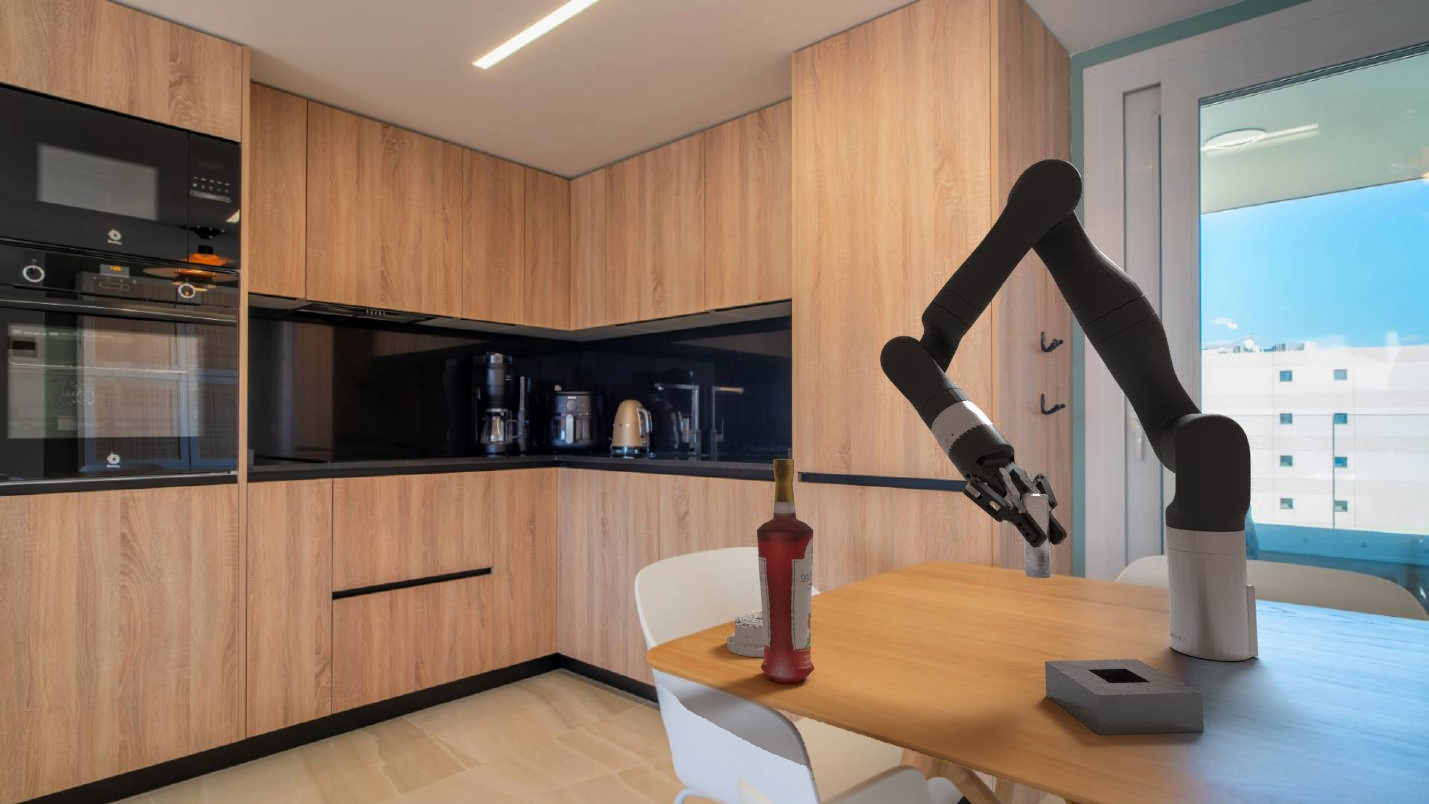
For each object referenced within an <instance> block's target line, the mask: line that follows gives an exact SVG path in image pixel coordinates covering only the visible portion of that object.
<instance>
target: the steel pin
mask: <svg viewBox="0 0 1429 804" xmlns="http://www.w3.org/2000/svg"><path fill="white" fill-rule="evenodd" d="M1022 504H1023V506H1024V507H1025V509H1026V513H1025V514H1030V515H1031V516H1032V518H1033V519H1034V520H1035V521H1036V523H1037V524H1038V525H1039V526H1040V528H1041V529H1042V530H1043V531H1044V533H1045V534H1046V535H1047V539H1046V541H1045V542H1044V543H1043V544H1042V545H1041V546H1040V547H1035V548H1034V547H1032V546H1031V545H1030V543H1029V542H1028V541H1026V539H1025V538H1024V536H1022V537H1023V539H1022V540H1023V558H1024V559H1023V560H1024V565H1023V566H1024V576H1025V577H1028V578H1034V579H1050V578H1052V564H1051V563H1052V562H1051V561H1052V560H1051V559H1052V558H1051V556H1052V555H1051V542H1050V531H1049V506H1048V495H1046V494H1028V493H1027V494H1022Z"/></svg>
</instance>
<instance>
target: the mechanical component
mask: <svg viewBox="0 0 1429 804" xmlns="http://www.w3.org/2000/svg"><path fill="white" fill-rule="evenodd" d="M726 648H727V650H728V651H729V652H731V653H733V654H735V655H740V656H745V657H751V658H752V657H754V658H764V641H763V620H762V613H759V612H758V613H757V612H756V613H752V614H751V613H750V614H744V615H742V616H736V618H735V619H734V633H732V634H730V635H728V636H727V639H726Z"/></svg>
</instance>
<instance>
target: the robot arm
mask: <svg viewBox="0 0 1429 804" xmlns="http://www.w3.org/2000/svg"><path fill="white" fill-rule="evenodd" d="M1083 185H1084V183H1083V179H1082V176H1081V174H1080V172H1079V170H1078V169H1077V168H1076V167H1075V166H1074V164H1072V163H1071V162H1069V161H1067V160H1064V159H1060V158H1047V159H1042V160H1039V161H1037V162H1035V163H1033V164H1031V165H1030V166H1029V167H1028V168H1026V169H1025V170H1024V171H1023V172H1022V173H1021V174H1020V175H1019V176H1018V178H1017V179H1016V181H1015V183H1014V184H1013V186H1012V187H1011V189H1010V191H1009V193H1008V196H1007V201H1006V205H1005V207H1004V209H1003V211H1002V212H1001V214H1000V215H999V217H998V218H997V219H996V221H995V223H994V224H993V225H992V227H991V228H990V230H989V231H988V232H987V234H986V235H985V236H984V238H983V239H982V240H981V241H980V242H979V244H978V245H977V246H976V248H975V249H974V250H973V251H972V252H971V253H970V255H969V256H968V257H967V258H966V259H965V260H964V261H963V262H962V263H961V265H960V266H959V267H958V269H956V271H954V273H953V274H952V275H951V276H950V277H949V279H948V280H947V282H946V283H945V284H944V285H943V286H942V287H941V289H940V290H939V291H938V293H937V294H936V295H935V296H934V297H933V299H932V300H931V302H930V303H929V304H928V305H927V307H925V310H924V311H923V313H922V314H921V317H920V318H921V322H922V323H921V324H922V326H923V334H922V336H921V337H920V340H918V339H917V338H915V337H912V336H909V335H898V336H896V337H893V338H891V339H889V340H888V341H887V342H886V343H885V344H884V346H883V347H882V349H881V352H880V356H879V362H880V368H881V370H882V371H883V373H884V375H885V376H886V377H887V379H888V380H889V381H890V382H891V383H892V384H893V385H894V387H895V388H896V389H897V390H898V391H899V393H900V394H901V395H902V396H904V398H905V399H906V400H908V402H909V403H910V404H911V405H912V407H913V408H914V409H915V410H916V411H915V412H917V414H918V415H919V417H920V418H921V420H922V421H923V422H924V424H925V425H926V426H927V428H928V429H929V431H930V432H931V433H932V435H933V436H934V439H935V440H936V442H937V444H938V445H939V447H940V448H941V449H942V451H943V452H944V453H945V455H946V456H947V458H948V459H949V460H950V462H951V463H952V464H953V465H954V467H955V468H956V470H957V471H958V472H959V473H960V474H961V476H962V477H963V479H964V480H965V481H966V482H967V484H966V485H965V487H964V488H963V489H962V493H963V494H964V496H966V497H967V498H968V499H970V500H971V501H972V502H973V503H975V505H977V506H978V507H979V508H980V509H981V510H982V511H984V512H985V513H986V514H988V515H989V516H990V517H991V518H993V520H995V521H996V522H998V523H1002V522H1003V521H1006V522H1007V523H1008V524H1010V525H1011V526H1014V527H1016V529H1017V530H1018V532H1019V533H1020V534H1021V535H1022V537H1023V536H1024V538H1025V539H1026V541H1028V542H1029V543H1030V545H1031V546H1032V547H1034V548H1035V547H1040V546H1041V545H1042V544H1043V543H1044V542H1045V541H1046V539H1047V535H1046V534H1045V533H1044V531H1043V530H1042V529H1041V528H1040V526H1039V525H1038V524H1037V523H1036V521H1035V520H1034V519H1033V518H1032V516H1031V515H1030V514H1025V513H1026V509H1025V507H1024V506H1023V504H1022V494H1046V495H1048V506H1049V531H1050V544H1052V545H1053V546H1058V545H1061V544H1062V542H1063V541H1064V540H1065V539H1066V538H1067V537H1068V533H1067V531H1066V530H1065V528H1064V527H1063V526H1062V524H1061V523H1060V522H1059V521H1058V520H1057V518H1056V517H1055V516H1054V515H1053V513H1052V511H1054V510H1055V508H1056V507H1058V505H1059V503H1058V500H1057V499H1056V496H1055V494H1054V491H1053V489H1052V486H1051V485H1050V482H1049V481H1048V480H1049V479H1048V477H1047V476H1046V475H1045V474H1044V473H1042V472H1038V474H1037V475H1036V476H1034V475H1030V474H1028V473H1027V471H1026V470H1025V469H1024V468H1023V467H1021V466H1020V465H1019V464H1017V463H1016V460H1015V455H1016V454H1015V448H1014V447H1013V445H1012V444H1011V443H1010V442H1009V441H1008V439H1007V438H1006V437H1005V436H1004V435H1003V433H1001V431H1000V429H998V428H997V427H996V425H995V424H994V423H993V422H992V421H991V419H990V418H989V417H988V416H987V415H986V414H985V413H984V411H983V410H981V409H980V408H978V406H977V405H976V404H974V402H973V401H972V400H971V398H970V397H969V396H968V395H967V394H966V392H964V391H963V390H962V388H961V387H960V386H959V385H958V384H957V383H955V382H954V380H952V379H951V378H950V377H949V376H948V375H947V374H946V372H947V371H948V369H949V367H950V365H951V362H952V360H953V359H954V357H955V354H956V352H957V350H958V348H959V345H960V343H961V341H962V339H963V337H964V336H966V334H967V333H968V332H969V330H970V329H971V328H972V327H973V325H974V324H975V323H976V322H977V320H978V319H979V318H980V317H981V315H982V314H983V313H984V311H985V310H986V309H987V308H988V306H989V304H990V303H991V302H992V301H993V299H994V298H995V296H996V295H997V293H998V292H999V291H1000V289H1001V288H1002V287H1003V286H1004V284H1005V282H1006V281H1007V280H1008V278H1009V277H1010V276H1011V274H1012V273H1013V271H1014V270H1015V269H1016V267H1017V266H1018V265H1019V263H1020V262H1021V261H1022V260H1023V259H1024V257H1025V256H1026V255H1027V254H1028V253H1029V252H1030V251H1031V249H1033V251H1034V252H1035V253H1036V255H1037V256H1038V257H1039V259H1040V260H1041V262H1042V263H1043V264H1044V266H1045V267H1046V268H1047V270H1048V271H1049V274H1050V275H1051V277H1052V279H1053V280H1054V283H1055V284H1056V286H1057V287H1058V290H1059V292H1060V294H1061V295H1062V297H1063V299H1064V300H1065V302H1066V304H1067V305H1068V307H1069V308H1070V311H1071V312H1072V314H1073V315H1074V317H1075V319H1076V320H1077V323H1078V325H1079V326H1080V327H1081V330H1082V332H1083V333H1084V334H1085V336H1086V337H1087V339H1088V341H1089V343H1090V344H1091V345H1092V347H1093V348H1094V350H1095V351H1096V353H1097V354H1098V355H1099V357H1100V358H1101V360H1102V362H1103V363H1104V365H1105V367H1106V368H1107V370H1108V372H1110V374H1111V376H1112V378H1113V379H1114V381H1115V382H1116V384H1117V386H1118V387H1119V388H1120V389H1121V391H1122V393H1124V395H1125V396H1126V399H1128V402H1129V403H1130V405H1131V407H1132V408H1133V410H1134V412H1135V415H1136V416H1137V418H1138V422H1139V423H1140V425H1141V427H1142V429H1143V431H1144V433H1145V435H1146V437H1147V440H1148V442H1149V444H1150V446H1151V448H1152V450H1153V452H1154V454H1155V456H1156V458H1157V459H1158V461H1159V462H1160V463H1161V465H1163V467H1165V468H1166V469H1167V470H1168V471H1170V472H1171V473H1173V474H1175V475H1174V476H1175V477H1174V479H1175V480H1174V481H1175V485H1174V487H1175V488H1174V490H1175V491H1174V496H1173V499H1172V500H1171V502H1170V503H1169V504H1168V505H1167V506H1166V508H1165V511H1164V512H1165V513H1164V514H1165V515H1164V516H1165V519H1164V520H1165V533H1166V534H1165V537H1166V539H1165V541H1166V558H1167V559H1166V560H1167V564H1166V565H1167V583H1168V589H1167V590H1168V605H1169V606H1168V608H1169V609H1168V610H1169V635H1170V647H1171V648H1172V649H1173V650H1175V651H1177V652H1179V653H1181V654H1184V655H1187V656H1191V657H1196V658H1202V659H1206V660H1212V661H1213V660H1214V661H1223V662H1224V661H1225V662H1239V661H1246V660H1248V659H1250V658H1254V657H1257V658H1258V657H1259V638H1258V625H1257V624H1258V623H1257V600H1256V587H1255V586H1254V585H1252V584H1250V583H1248V567H1247V565H1248V564H1247V548H1246V546H1247V545H1246V543H1247V542H1246V517H1247V514H1248V512H1249V510H1250V507H1251V501H1252V500H1251V497H1252V484H1251V483H1252V481H1251V480H1252V474H1251V473H1252V455H1251V447H1250V442H1249V438H1248V436H1247V434H1246V432H1245V430H1244V428H1243V427H1242V426H1241V425H1240V424H1239V423H1238V422H1237V421H1236V420H1235V419H1233V418H1231V417H1229V416H1227V415H1224V414H1219V413H1211V412H1210V413H1208V412H1207V413H1205V412H1204V413H1202V411H1201V410H1200V409H1199V407H1198V406H1197V405H1196V404H1195V402H1194V401H1193V399H1192V398H1191V397H1190V395H1189V393H1188V392H1187V391H1186V390H1185V388H1184V387H1183V385H1182V383H1181V381H1180V379H1179V378H1178V376H1177V374H1176V371H1175V368H1174V363H1173V360H1172V355H1171V351H1170V346H1169V341H1168V337H1167V333H1166V331H1165V328H1164V325H1163V323H1162V320H1161V319H1160V317H1159V315H1158V314H1157V312H1156V311H1155V309H1154V307H1153V305H1152V304H1151V303H1150V301H1149V299H1148V298H1147V296H1146V295H1145V294H1144V291H1143V290H1142V288H1141V287H1140V286H1139V285H1138V283H1137V282H1136V281H1135V280H1134V279H1133V278H1132V277H1131V276H1130V275H1129V274H1128V273H1127V272H1125V270H1124V269H1122V268H1121V267H1120V266H1119V265H1118V264H1117V263H1116V262H1114V261H1113V260H1111V258H1110V257H1108V256H1107V255H1106V254H1104V253H1103V252H1102V251H1101V250H1100V249H1099V248H1098V247H1097V246H1096V244H1095V243H1094V242H1093V241H1092V240H1091V237H1089V235H1088V233H1087V232H1086V230H1085V228H1084V226H1083V225H1082V222H1081V221H1080V219H1079V217H1078V216H1077V213H1076V211H1075V209H1076V208H1077V207H1078V206H1079V202H1080V201H1081V198H1082V194H1083ZM991 503H992V504H993V506H992V505H991ZM994 507H995V508H994Z"/></svg>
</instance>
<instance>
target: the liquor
mask: <svg viewBox="0 0 1429 804" xmlns="http://www.w3.org/2000/svg"><path fill="white" fill-rule="evenodd" d="M772 463H773V475H774V476H773V477H774V482H775V487H774V501H773V502H774V503H773V515H772V517H773V518H771V519H770V520H768V521H765V522H764V523H763V524H761V525H760V526H759V527H758V528H757V529H756V540H757V557H758V559H757V560H758V574H759V575H758V576H759V586H760V601H761V614H762V620H763V641H764V657H763V661H762V663H761V665H760V669H761V670H762V672H763V673H765V675H766V676H768V677H769V679H770V680H771V681H772V682H776V683H779V684H787V685H789V684H798V683H802V682H803V681H805V680H806V679H807V677H809V675H811V673H813V672H814V670H815V665H814V664H813V661H812V660H811V658H812V657H811V654H812V652H811V650H812V648H811V647H812V646H811V645H812V644H811V643H812V640H811V639H812V638H811V637H812V633H811V631H812V593H813V570H814V568H813V566H814V529H813V528H812V527H811V526H810V525H809V524H807V523H806V522H804V521H802V520H799V519H797V514H796V503H795V494H794V486H793V480H794V474H795V459H794V458H776V459H775V458H774V459H773V462H772Z"/></svg>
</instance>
